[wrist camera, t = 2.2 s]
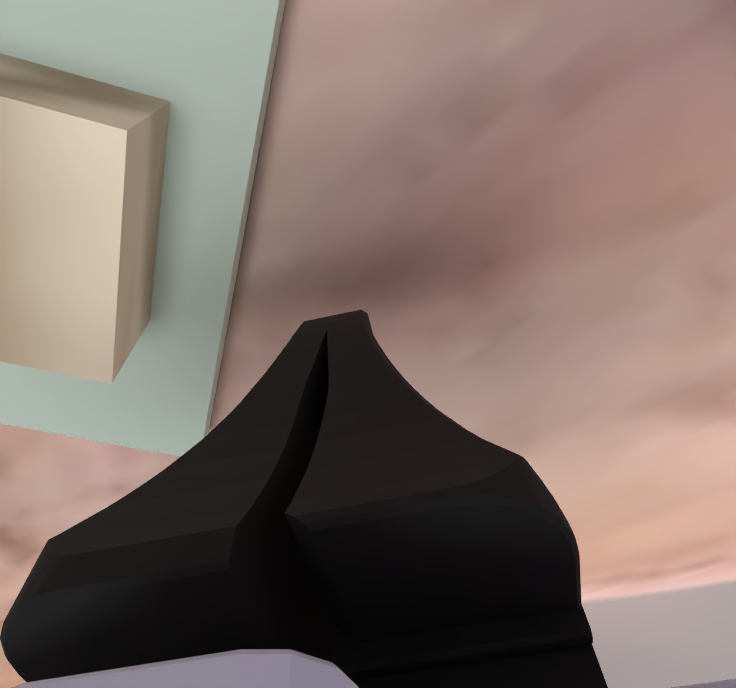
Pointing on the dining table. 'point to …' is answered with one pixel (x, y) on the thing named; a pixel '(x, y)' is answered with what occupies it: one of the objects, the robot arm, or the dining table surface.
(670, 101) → the dining table surface
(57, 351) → the birch tile
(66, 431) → the far plate
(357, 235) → the dining table surface
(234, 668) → the robot arm
